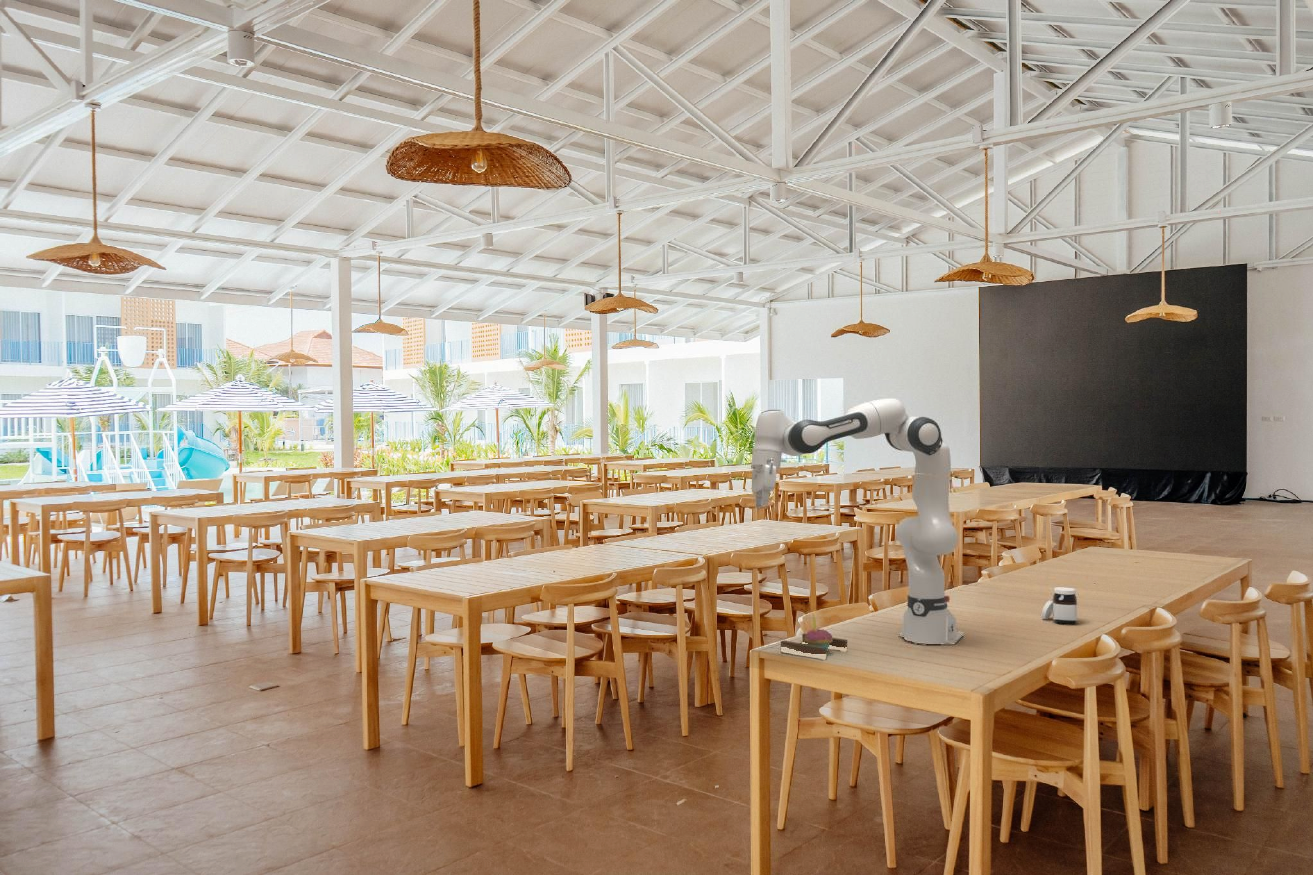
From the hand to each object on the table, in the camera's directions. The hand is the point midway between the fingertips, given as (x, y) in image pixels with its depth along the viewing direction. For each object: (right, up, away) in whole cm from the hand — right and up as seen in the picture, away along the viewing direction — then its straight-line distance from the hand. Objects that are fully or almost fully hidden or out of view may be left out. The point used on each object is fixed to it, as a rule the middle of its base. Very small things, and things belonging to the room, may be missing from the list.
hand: (761, 507), depth 293 cm
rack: (+16, -44, +3) cm, 47 cm away
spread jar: (+108, -43, +42) cm, 123 cm away
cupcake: (+18, -45, +2) cm, 48 cm away
